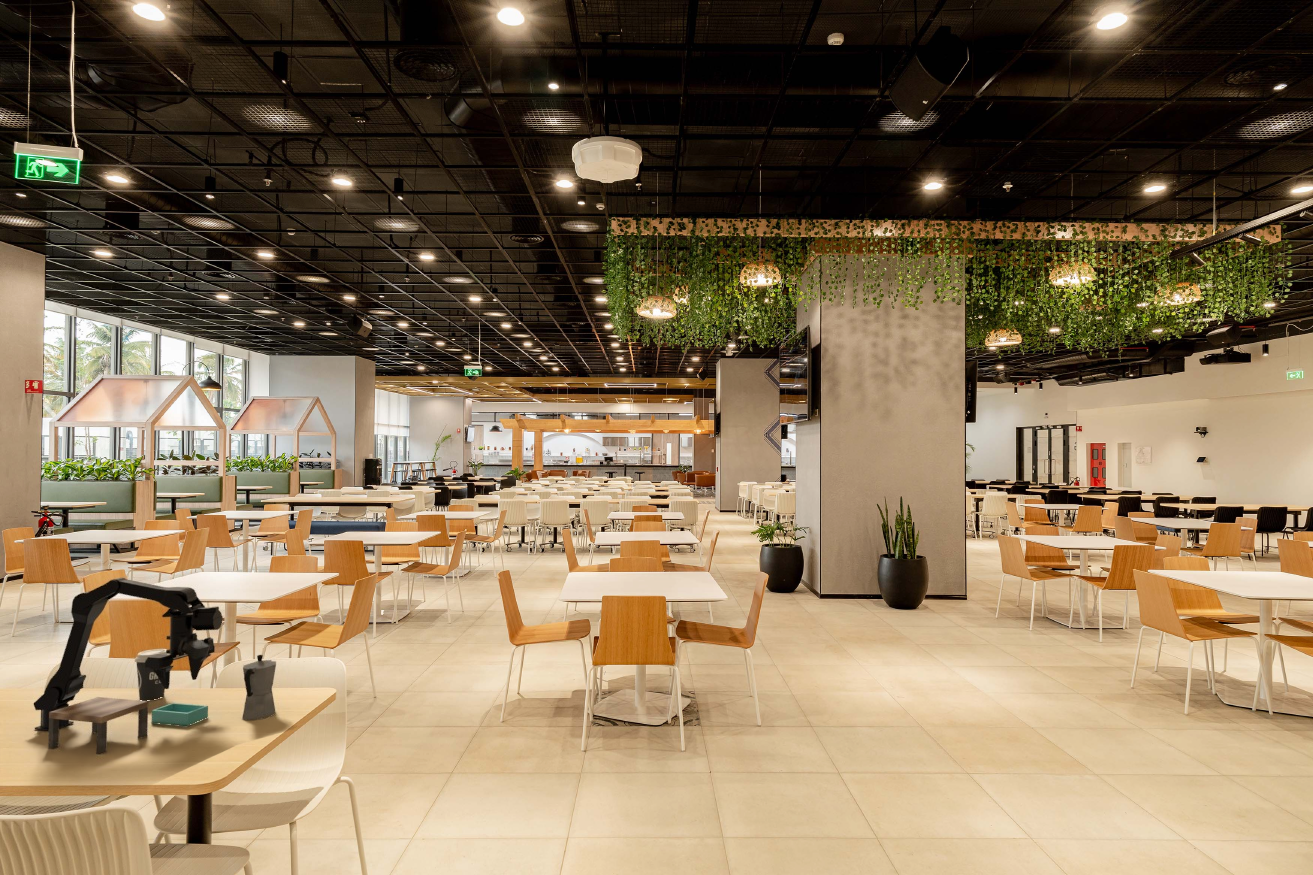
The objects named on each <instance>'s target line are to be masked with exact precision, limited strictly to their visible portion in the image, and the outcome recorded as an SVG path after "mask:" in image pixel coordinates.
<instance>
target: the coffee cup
mask: <svg viewBox="0 0 1313 875" xmlns="http://www.w3.org/2000/svg"><path fill="white" fill-rule="evenodd" d="M166 650H168V649H166V648H157V649H156V648H154V649H149V650H143V651H140V652H138V653H137V656H136V657H135V658H134V662H135V663H136V673H137V685H138V698H139V700H142V701H147V700H154V699H158V698H160V697H163V698H164V697H165V692H166V691H165V690H166V689H165V688H164V687H163V685H162V683H161V681H160V680H159V678H158V676H157V675H156V674H155V672H154V671H153V670H152V669H149V668H147V667H145V660H146V659H147V658H148V657H151V656H154V655H158V654H163V655H170V654H166ZM158 700H159V699H158ZM154 701H155V700H154Z"/></svg>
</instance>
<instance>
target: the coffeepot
mask: <svg viewBox="0 0 1313 875" xmlns="http://www.w3.org/2000/svg"><path fill="white" fill-rule="evenodd" d="M263 658H264V657H263V654H257V655H256V659H257V661H253V662H250V663H247V664H245V665H244V664H243V667H242V671H243V672H242V673H243V679H244V685H245V690H246V697H245V701H244V708H243V712H242V713H243V714H242V719H243V720H247V721H256V720H257V719H258V720H262V719H261V718H264V719H267V718H270V717H272V716H274V715H275V714H276V706H275V702H274V701H275V700H274V693H273V685H274V680H275V674H276V666H277V661H275V660H272V659H268V660H267V659H265V660H263ZM273 714H274V715H273ZM271 715H272V716H271ZM269 716H270V717H269ZM266 717H267V718H266Z"/></svg>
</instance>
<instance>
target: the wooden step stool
mask: <svg viewBox="0 0 1313 875" xmlns="http://www.w3.org/2000/svg"><path fill="white" fill-rule="evenodd" d="M134 712H138V714H137V715H138V719H137V720H138V721H137V723H138V724H137V725H138V726H137V728H138V729H137V738H139V739H143V738H146V737H148V726H149V725H148V723H149V722H148V721H149V720H148V717H149V715H148V714H149V701H140V699H139V700H138V699H127V698H113V697H100V696H96V697H94V698H90V699H88V700H84V701H80V702H77V703H74V704H71V705H69V706H67V707H64V708H61V709H58V710H55V711H51V712H49V731H48V742H47V744H48V746H47V748H48V749H49V750H55V749H57V748H59V746H60V745H59V742H60V741H59V738H60V737H59V736H60V728H59V719H62V720H69V721H73V722H84V723H91V734H96V745H95V746H96V748H95V749H96V750H95V751H96V752H95V753H96V755H102V754H106V753H107V743H108V742H107V740H108V737H107V736H108V722H109V721H111V720H115V719H117V718H120V717H124V716H126V715H129V714H131V713H134Z"/></svg>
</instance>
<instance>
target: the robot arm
mask: <svg viewBox="0 0 1313 875" xmlns="http://www.w3.org/2000/svg"><path fill="white" fill-rule="evenodd" d="M118 594H120V595H124V596H129V597H135V598H138V599H139V598H140V599H143V600H149V601H155V602H157V603H159V604H160V605H162V606H163V607H165V608H168V609H167V611H166V612H164V613H163V614H162V615H161V617H162V618H170V619H169V620H170V623H169V635H166V640H167V641H168V640H169V649H167V650H166V654H170V655H163V654H158V655H154V656H151V657H148V658H147V659H146V660H145V667H147V668H149V669H152V670H153V671H154V672H155V674H156V675H157V676H158V678H159V680H160V681H161V683H162V685H163V687H164V688H165V690H168V689H170V684H171V683H170V682H171V678H170V677H171V671H172V670H173V668H174V665H172V664H173V663H174V661H177V660H179V659H182V658H186V657H187V658H188V662H189V670H190V671H189V672H190V677H191V679H192V680H193V681H196V680H197V679H198V676H199V672H200V670H201V668H202V666H203V663H204V662H205V661H206V659H207V658H208V657H211V655H212V654H214V653H215V644H214V638H213V637H211V636H210V637H206V638H204V639H203V638H202V639H198V634H197V632H194V631H218V630H219V629H220V628H221V626H222V624H223V619H224V618H223V617H224V616H223V615H222V612H221V611H220V607H219V606H211V607H206V606H205V605H204V603H203V602H202V600H200V598H199V597H198V595H197V592H196V590H195V589H194V588H192V587H189V586H188V587H186V586H171V587H170V586H169V587H166V586H161V585H155V584H150V583H146V582H141V581H137V580H133V579H132V580H131V579H127V578H125V577H118V578H114V579H110V580H108V581H107V582H106V583H104V584H102V585H101V586H98V587H96V588H94V589H92V590H90V591H89V590H88V591H85V592H81V593H78V594H77V595H75V596H74V598H73V599H72V603H71V610H70V613H71V616H72V619H73V622H72V626H71V629H70V633H69V635H68V639H67V642H66V645H65V647H64V648H65V649H64V651H63V655H62V657H61V660H60V664H59V667H58V669H57V671H56V672H55V673H54V674H53V676H51V678H50V679H49V681H48V682H47V684H46V687H45V688H44V691H43V694H42V695H40V696H39V697H38V698H37V700H35V701H34V702H33V707H34V710H35V711H40V725H39V726H35V727H34V730H37V731H38V730H39V731H48V732H49V712H51V711H55V710H58V709H61V708H64V707H67V706H70V704H69V702H72V701H74V700H75V697H76V695H77V694H79V692H80V691H81V689H82V690H83V688H84V683H85V680H86V678H87V675H86V674H82V672H81V665H82V662H83V659H84V655H85V652H86V649H87V646H88V643H89V640H90V637H91V634H92V630H93V626H94V623H95V621H96V620H97V619H99V616H100V615H101V614H102V613H103V612H104V609H105V608H106V605H107V604H108V601H109V600H111V599H113V598H114V597H116V596H117V595H118ZM74 722H75V721H73V720H62V719H59V729H61V728H64V727H66V726H67V727H68V726H70V725H73V724H75V723H74Z"/></svg>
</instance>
